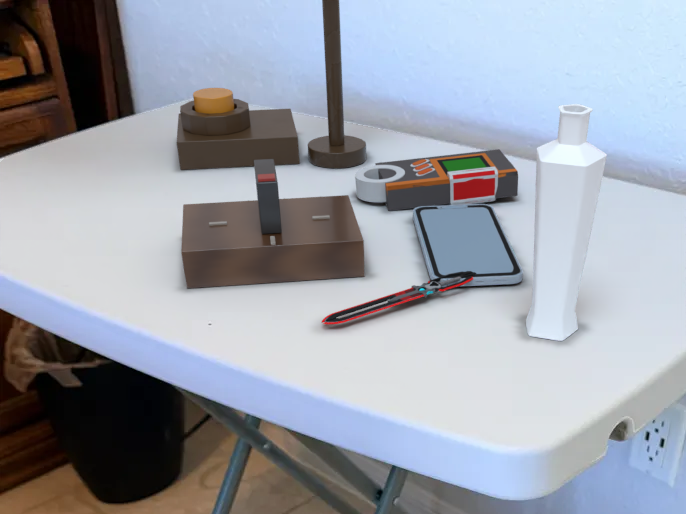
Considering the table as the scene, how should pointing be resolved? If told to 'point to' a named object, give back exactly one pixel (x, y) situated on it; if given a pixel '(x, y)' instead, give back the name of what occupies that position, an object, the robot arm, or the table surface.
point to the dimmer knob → (267, 196)
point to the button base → (235, 137)
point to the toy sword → (400, 297)
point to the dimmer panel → (271, 242)
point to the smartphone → (466, 244)
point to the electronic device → (439, 180)
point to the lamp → (335, 103)
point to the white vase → (563, 222)
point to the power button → (213, 100)
